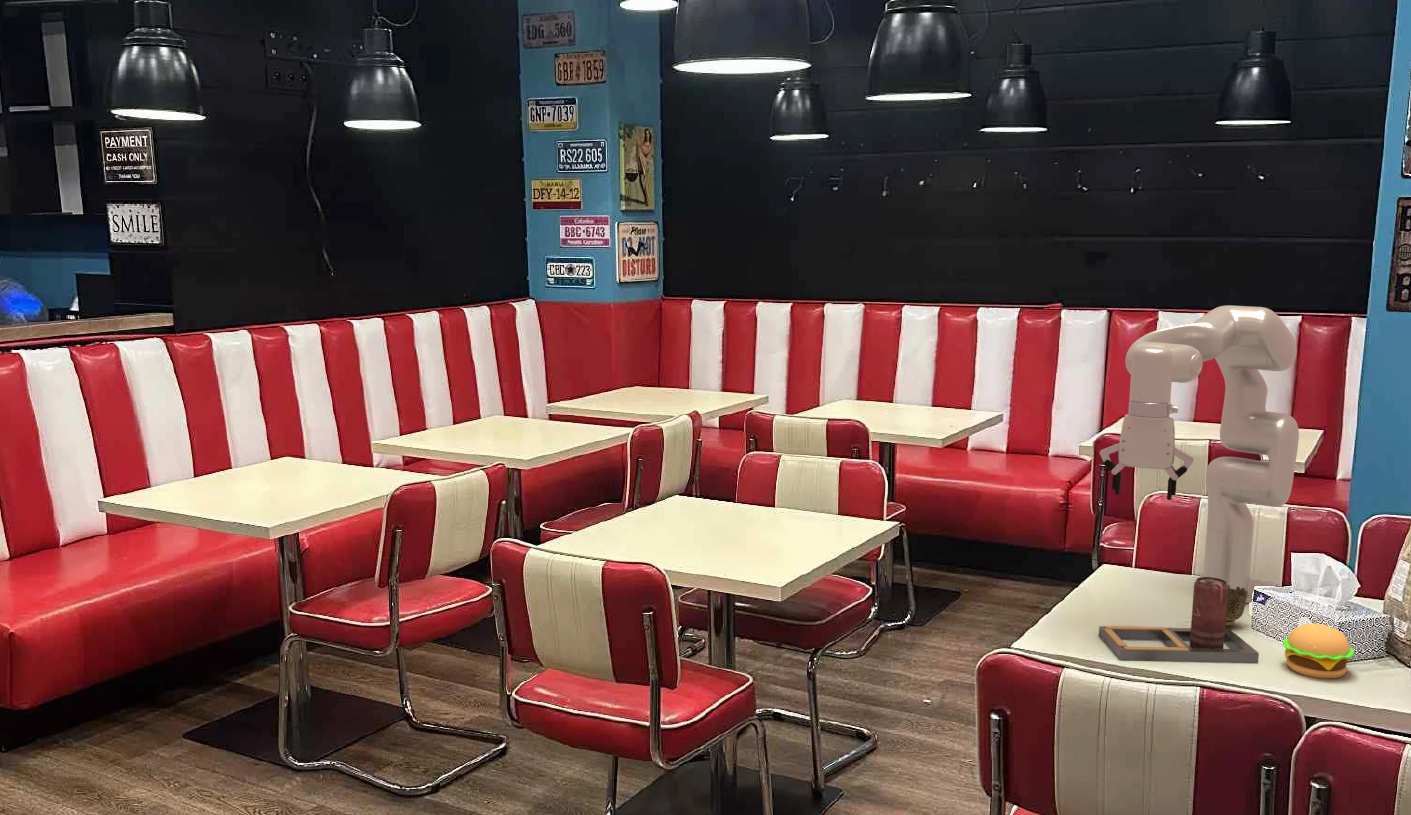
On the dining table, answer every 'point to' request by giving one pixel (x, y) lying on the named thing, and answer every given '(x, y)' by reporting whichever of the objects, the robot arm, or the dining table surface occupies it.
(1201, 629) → the can
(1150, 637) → the grey tray
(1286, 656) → the hamburger
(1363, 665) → the dining table surface
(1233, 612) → the cup
